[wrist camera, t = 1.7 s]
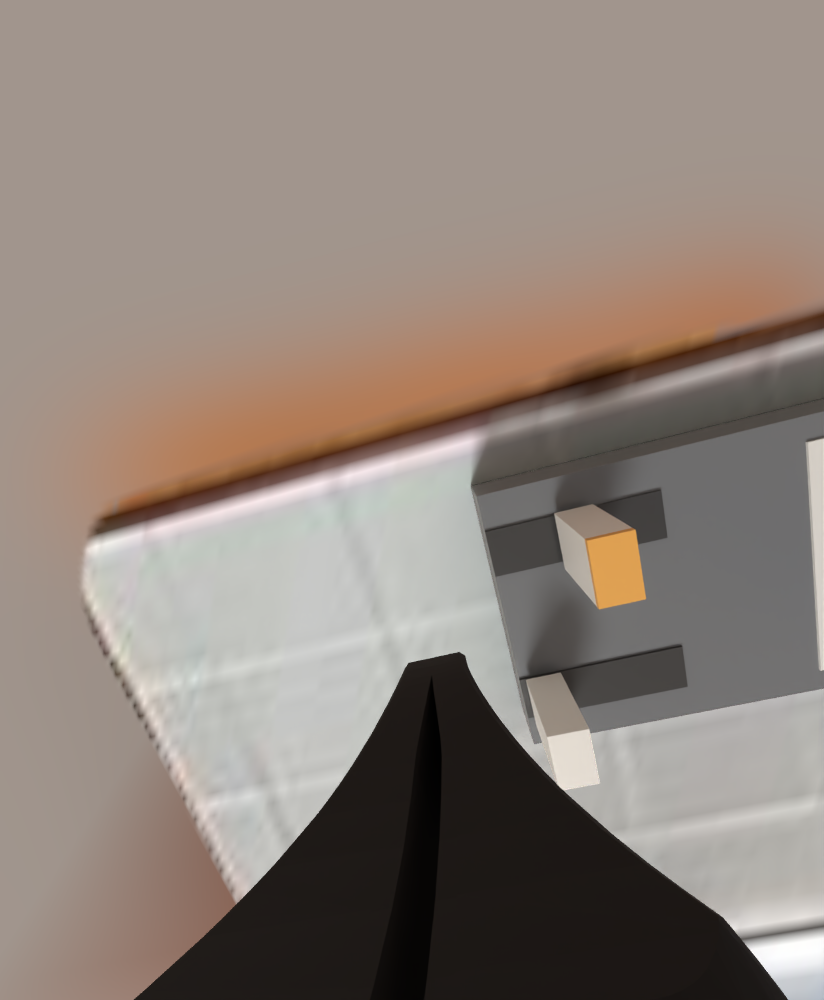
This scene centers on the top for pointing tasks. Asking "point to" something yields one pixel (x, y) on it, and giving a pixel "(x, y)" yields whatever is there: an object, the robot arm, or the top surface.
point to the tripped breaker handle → (601, 555)
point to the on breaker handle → (563, 732)
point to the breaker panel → (672, 571)
